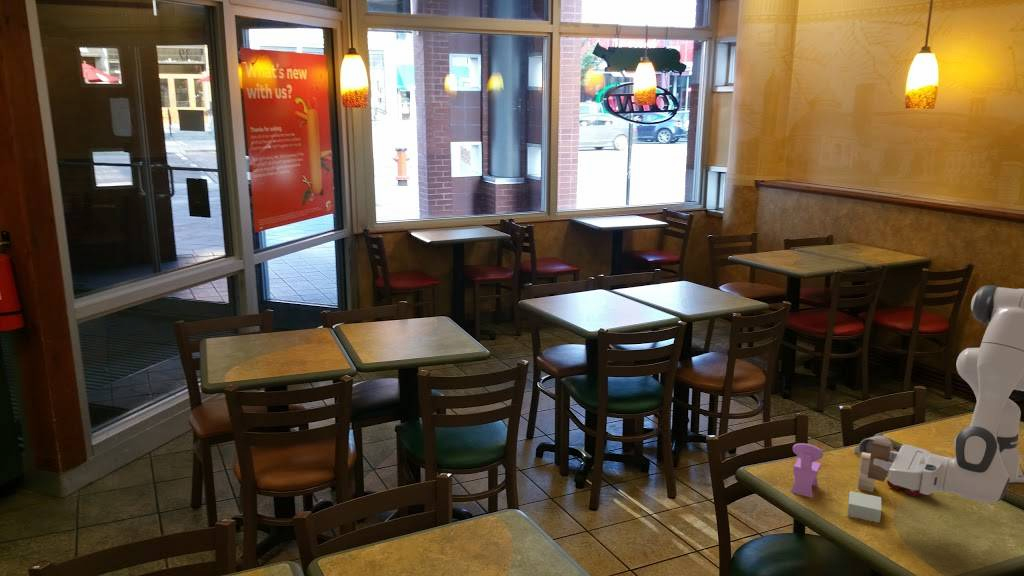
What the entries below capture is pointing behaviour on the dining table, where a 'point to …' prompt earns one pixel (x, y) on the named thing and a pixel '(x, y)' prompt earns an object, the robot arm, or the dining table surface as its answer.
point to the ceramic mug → (869, 444)
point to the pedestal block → (864, 506)
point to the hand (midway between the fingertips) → (876, 457)
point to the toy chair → (806, 468)
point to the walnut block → (881, 451)
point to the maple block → (865, 474)
